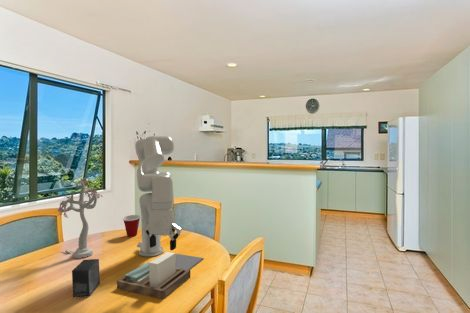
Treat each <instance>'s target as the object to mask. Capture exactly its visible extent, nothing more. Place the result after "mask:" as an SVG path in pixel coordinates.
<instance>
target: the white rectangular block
mask: <svg viewBox="0 0 470 313" xmlns="http://www.w3.org/2000/svg"><path fill="white" fill-rule="evenodd" d="M175 254H176V253H175V252H169V251H167V252H165V253H164V254H163V253H162V255H161V254H160V255H159V256H158V257H156V258H155V259H153V260H151V261H148V262H149V278H150V286H151V287H155V288H157V287H158V286H159V285H161V284H162V283H163V282H165V281H166V280H168V279H169V278H170V277H172V276H173V275H174V274H176V262H175Z"/></svg>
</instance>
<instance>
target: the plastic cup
mask: <svg viewBox="0 0 470 313" xmlns="http://www.w3.org/2000/svg"><path fill="white" fill-rule="evenodd" d="M121 219H122V221H123V223H124V227H125V231H126V232H125V233H126V236H127V238H133V237H137V235H138V230H139V223H140V219H141V215H139V214H129V215H125V216H123V217H122V218H121Z"/></svg>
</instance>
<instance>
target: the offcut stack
mask: <svg viewBox="0 0 470 313" xmlns="http://www.w3.org/2000/svg"><path fill="white" fill-rule="evenodd" d="M149 262H150V261H147V262H146V263H144V264H142V265H141V266H139V267H137V268H135V269H133V270H132V271H129V272H128V273H126V274H124V277H125V279H127V281H128V282H132V283H137V284H142V283H144V282H145V281H147V280H148V279H150V278H149Z"/></svg>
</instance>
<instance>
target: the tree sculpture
mask: <svg viewBox="0 0 470 313" xmlns="http://www.w3.org/2000/svg"><path fill="white" fill-rule="evenodd" d="M85 179H86V177H84V178H82V179H81V180H79V181H78V182H77V183H76V186H75V187H76V189H78V186H79V184H80V186H81V189H80V191H79V197H78V198H79V199H78V200H74V195H77V194H76V193H72V194H69V195H66V196H64V197H63V199H64V198H65V199H66V200H62V201H61V202H60V203H59V207H58V210H57V211H58V213H59V215H60V216H62V215H63V216H64V218H70V217H69V216H68V215H67V212H69V211H74V212H77V213H79V216H80V219H81V223H82V229H81V230H80V231H81V232H80V234H79V237H78V247H77V248H76V249H75V250H74V251H72V250H69V249H66V250H64V251H65V252H66V253H67V254H70V252H71V253H72V258H74V257H75V258H74V259H83V258H82V257H85V258H88V257H90V255H91V256H92V255H93V252H94V251H93V250H94V249H93V248H91V247H89V246H88V234H89V224H88V221H87V219H86V217H85V209H87V210H92V209H94V208H95V207H96V205H97V201H98V200H99V199H100V197H101V198H103V195H101V194H100V193H98V191H97V190H96V189H97V187H94V188H93V189H92V188H91V186H90V185H88V184H87V181H86V180H85ZM88 179H89V180H90V178H88V177H87V180H88ZM86 187H87V188H86ZM90 191H91V193H90ZM84 196H87V198H88V200H84ZM68 205H69V206H68ZM74 205H79V208H77V207H75V206H74ZM67 206H68V207H67ZM65 252H64V253H65ZM87 256H88V257H87Z"/></svg>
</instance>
